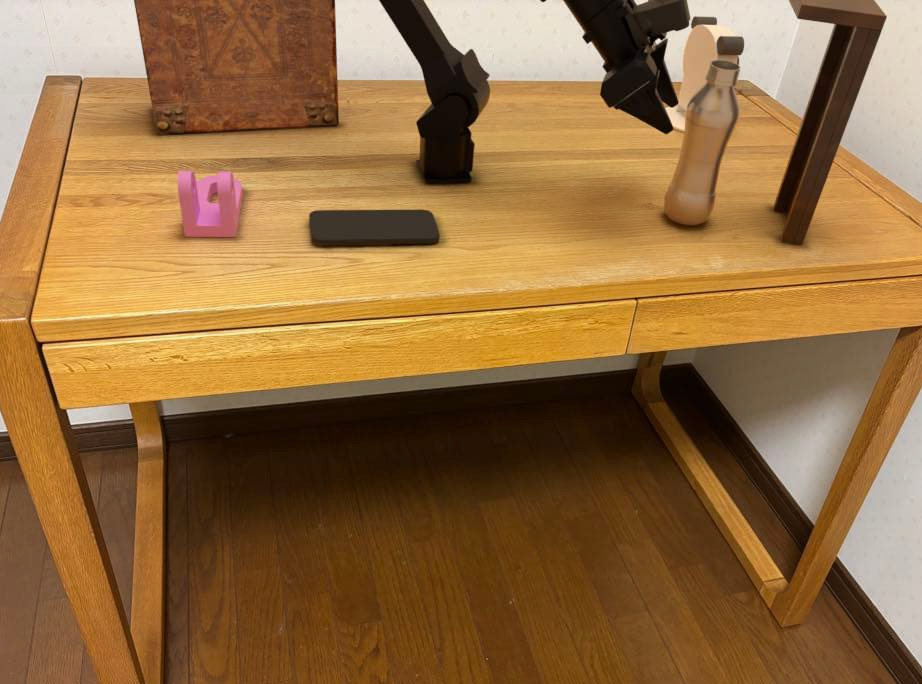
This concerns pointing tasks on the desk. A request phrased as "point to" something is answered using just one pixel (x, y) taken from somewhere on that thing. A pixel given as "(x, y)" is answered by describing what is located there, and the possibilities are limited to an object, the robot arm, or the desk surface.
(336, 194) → the desk surface
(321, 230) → the phone
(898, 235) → the desk surface
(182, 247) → the desk surface
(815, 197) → the dark wooden stand
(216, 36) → the book
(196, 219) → the bracket
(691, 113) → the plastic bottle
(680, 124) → the beige rounded piece
